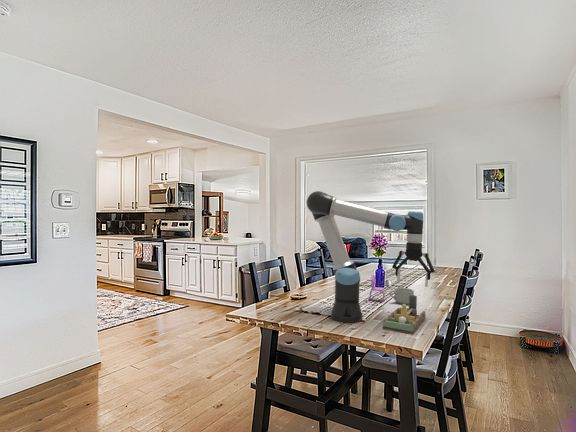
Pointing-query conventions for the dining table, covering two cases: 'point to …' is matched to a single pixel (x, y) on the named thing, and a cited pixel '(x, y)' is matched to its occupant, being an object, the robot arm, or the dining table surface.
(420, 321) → the tray
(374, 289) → the chair
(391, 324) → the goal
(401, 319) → the ball
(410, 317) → the kicker
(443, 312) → the dining table surface
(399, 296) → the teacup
